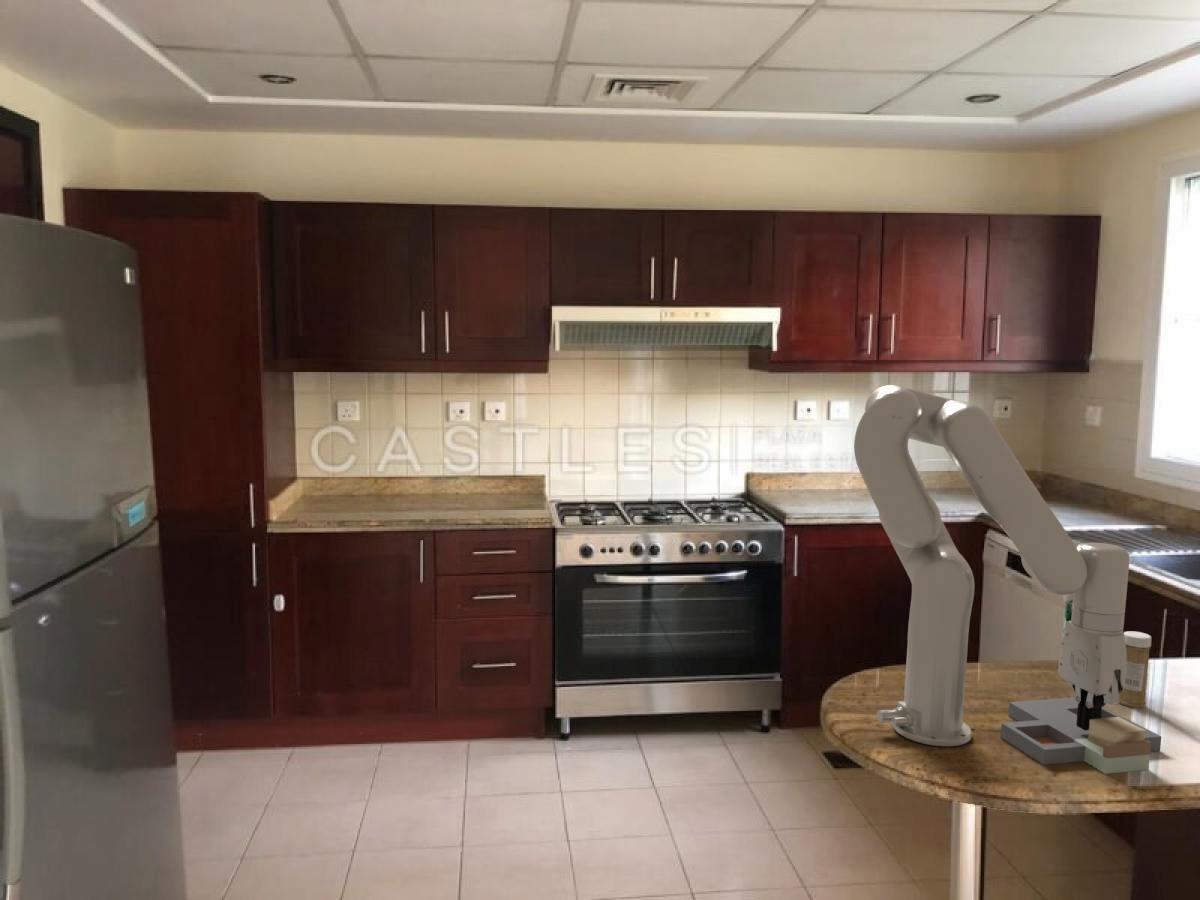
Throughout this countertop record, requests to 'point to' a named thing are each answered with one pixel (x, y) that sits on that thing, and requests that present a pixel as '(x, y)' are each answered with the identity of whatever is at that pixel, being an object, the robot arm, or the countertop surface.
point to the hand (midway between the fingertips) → (1087, 727)
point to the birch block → (1113, 731)
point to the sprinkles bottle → (1136, 669)
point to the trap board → (1072, 737)
